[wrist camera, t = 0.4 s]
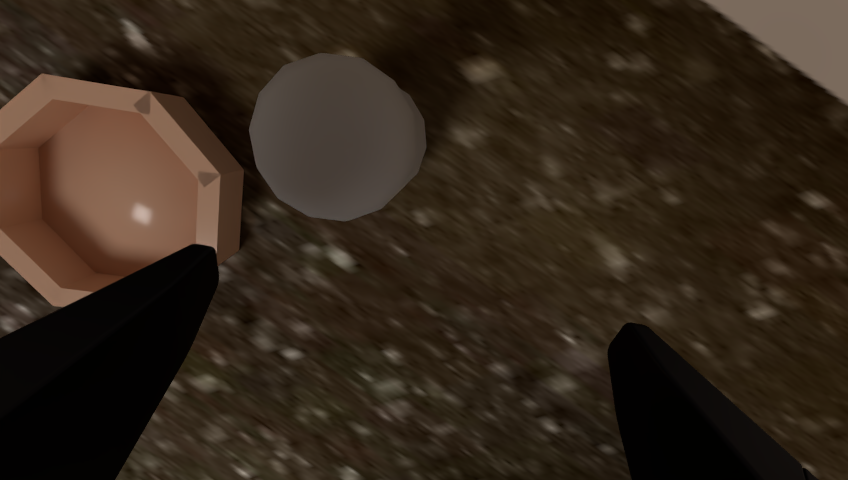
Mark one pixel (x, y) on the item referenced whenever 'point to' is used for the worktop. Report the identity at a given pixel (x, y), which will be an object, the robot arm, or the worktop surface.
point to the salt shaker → (336, 136)
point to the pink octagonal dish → (108, 184)
